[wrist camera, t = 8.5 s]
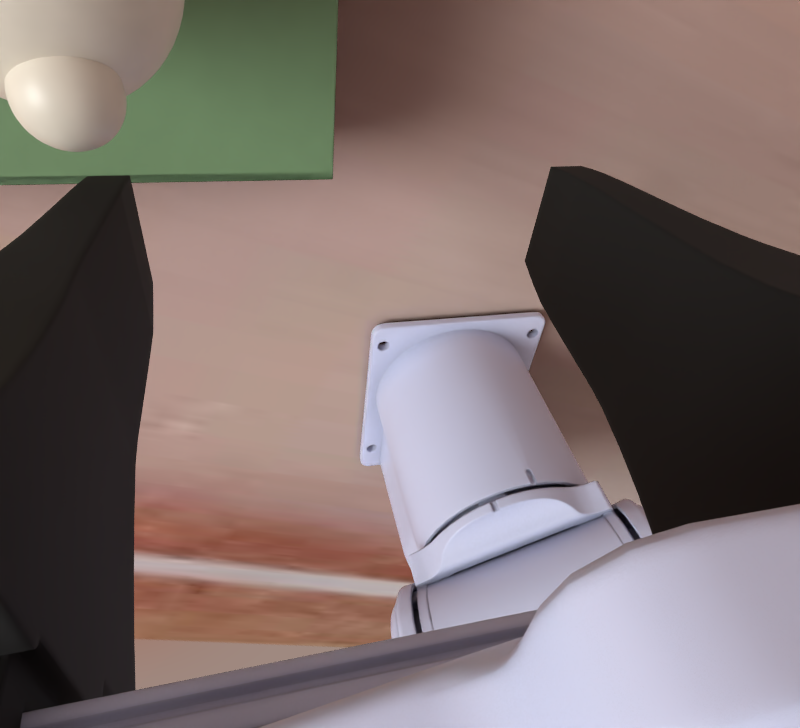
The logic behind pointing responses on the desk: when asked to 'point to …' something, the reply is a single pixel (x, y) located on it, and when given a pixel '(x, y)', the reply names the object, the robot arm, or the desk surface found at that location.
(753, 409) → the robot arm
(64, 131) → the toy bear
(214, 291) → the desk surface
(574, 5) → the desk surface
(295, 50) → the book stack
